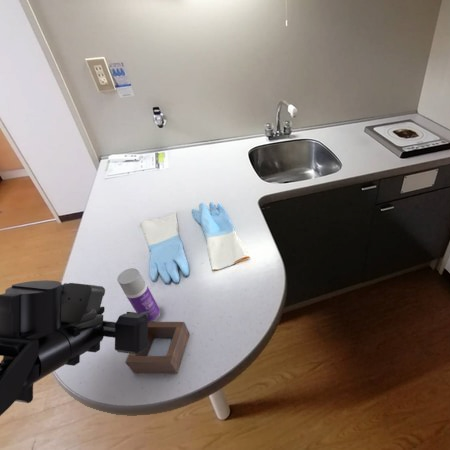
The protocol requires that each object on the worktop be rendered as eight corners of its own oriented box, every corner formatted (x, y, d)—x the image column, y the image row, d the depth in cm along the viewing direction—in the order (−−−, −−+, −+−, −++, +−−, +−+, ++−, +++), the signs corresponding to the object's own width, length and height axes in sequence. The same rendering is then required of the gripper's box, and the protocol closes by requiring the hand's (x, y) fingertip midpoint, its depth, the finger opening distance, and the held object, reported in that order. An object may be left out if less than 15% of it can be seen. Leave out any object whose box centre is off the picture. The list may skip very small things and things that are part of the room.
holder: (177, 373, 65) (170, 362, 62) (133, 373, 65) (124, 362, 62) (189, 333, 72) (184, 321, 69) (150, 333, 73) (143, 321, 69)
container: (156, 323, 75) (134, 284, 65) (137, 323, 75) (112, 284, 65) (163, 307, 78) (143, 267, 68) (145, 306, 78) (122, 267, 69)
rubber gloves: (153, 294, 81) (145, 278, 77) (141, 223, 103) (134, 208, 99) (250, 259, 91) (248, 243, 86) (220, 201, 113) (217, 187, 109)
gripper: (114, 301, 43) (171, 275, 59) (-4, 288, 45) (82, 267, 60) (112, 376, 44) (169, 331, 59) (-4, 361, 46) (81, 321, 61)
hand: (125, 311), depth 60 cm, fingers open, 9 cm apart
